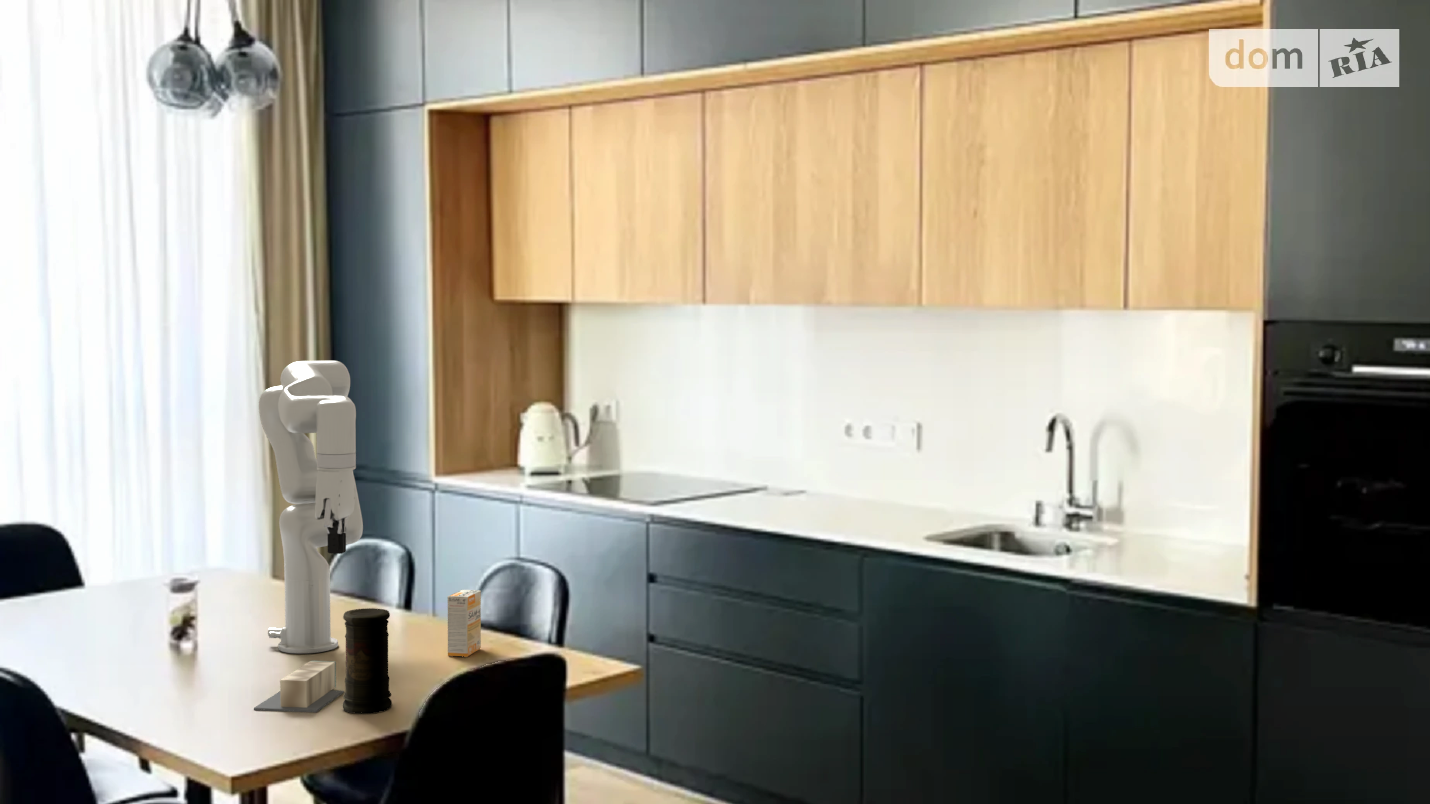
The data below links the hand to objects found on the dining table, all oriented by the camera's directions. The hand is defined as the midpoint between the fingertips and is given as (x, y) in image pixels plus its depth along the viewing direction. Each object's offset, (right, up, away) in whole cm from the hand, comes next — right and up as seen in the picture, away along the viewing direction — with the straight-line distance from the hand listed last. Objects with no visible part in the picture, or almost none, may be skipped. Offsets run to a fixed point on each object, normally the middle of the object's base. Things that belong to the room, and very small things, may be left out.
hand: (336, 552), depth 296 cm
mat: (-3, -26, -16) cm, 31 cm away
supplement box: (+22, -24, +23) cm, 40 cm away
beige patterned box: (-1, -23, -7) cm, 24 cm away
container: (+11, -27, -21) cm, 36 cm away
